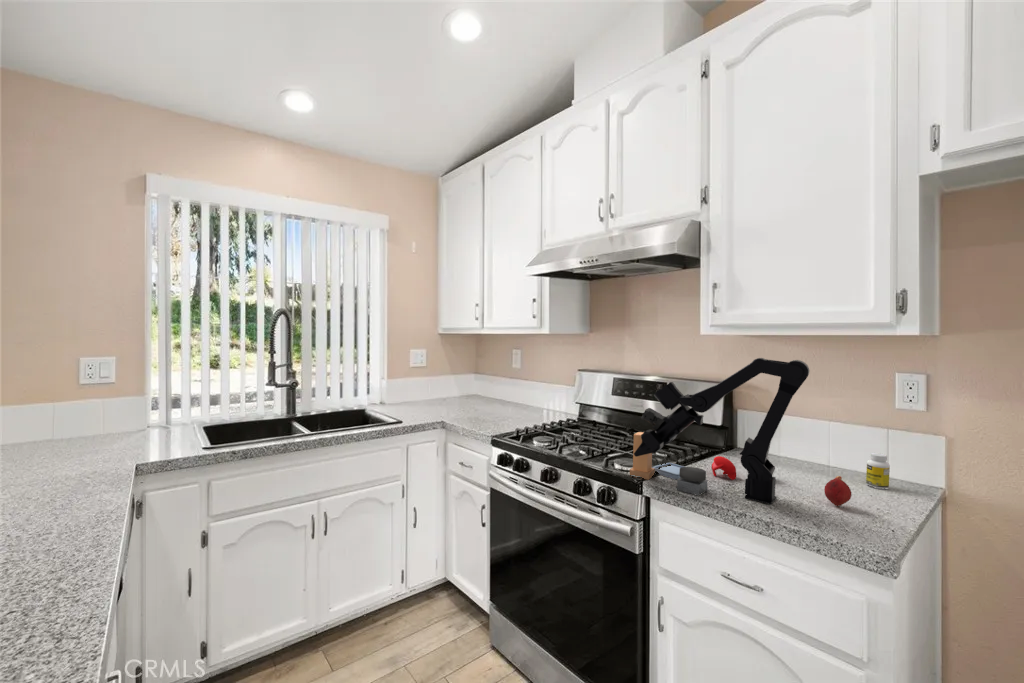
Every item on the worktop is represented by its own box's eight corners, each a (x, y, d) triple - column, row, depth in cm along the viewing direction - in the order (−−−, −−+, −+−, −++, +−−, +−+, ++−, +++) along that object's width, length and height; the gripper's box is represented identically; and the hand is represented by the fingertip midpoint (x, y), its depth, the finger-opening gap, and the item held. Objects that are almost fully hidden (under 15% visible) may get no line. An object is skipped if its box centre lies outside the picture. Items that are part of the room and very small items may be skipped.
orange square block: (654, 474, 147) (655, 433, 146) (648, 479, 142) (649, 437, 141) (635, 471, 150) (637, 431, 150) (629, 475, 145) (630, 434, 145)
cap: (704, 464, 148) (717, 458, 143) (714, 455, 151) (727, 450, 146) (720, 486, 146) (733, 482, 141) (730, 477, 149) (744, 472, 144)
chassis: (699, 475, 147) (699, 470, 147) (681, 481, 141) (681, 476, 141) (666, 465, 157) (666, 461, 156) (648, 470, 150) (648, 466, 150)
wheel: (709, 488, 133) (709, 470, 133) (699, 494, 128) (700, 475, 128) (685, 482, 138) (685, 465, 138) (675, 487, 133) (675, 470, 133)
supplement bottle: (861, 484, 141) (862, 452, 141) (874, 483, 143) (875, 451, 143) (880, 490, 136) (881, 457, 136) (893, 489, 138) (894, 456, 138)
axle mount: (707, 490, 133) (707, 479, 133) (698, 495, 129) (699, 484, 129) (685, 484, 138) (686, 474, 137) (676, 489, 133) (677, 479, 133)
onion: (838, 511, 120) (839, 480, 119) (818, 502, 125) (819, 473, 125) (856, 509, 121) (857, 478, 121) (835, 501, 127) (836, 471, 126)
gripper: (667, 397, 150) (632, 426, 157) (649, 404, 135) (611, 436, 141) (692, 425, 146) (655, 453, 153) (676, 435, 131) (636, 467, 137)
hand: (639, 452), depth 146 cm, fingers open, 9 cm apart
